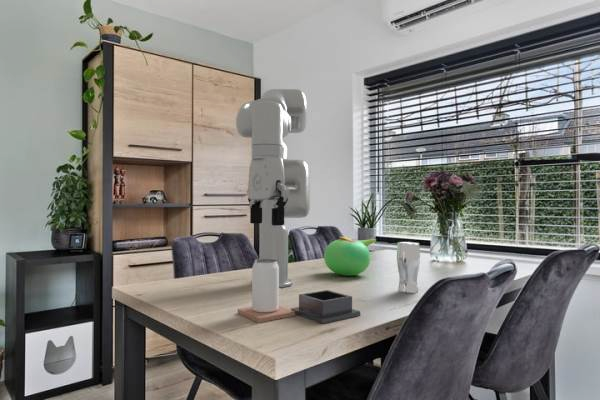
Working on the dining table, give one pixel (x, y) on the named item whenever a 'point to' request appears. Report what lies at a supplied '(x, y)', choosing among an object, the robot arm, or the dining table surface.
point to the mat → (266, 314)
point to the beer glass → (408, 266)
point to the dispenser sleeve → (325, 306)
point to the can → (265, 286)
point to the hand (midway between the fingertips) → (266, 224)
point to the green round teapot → (348, 256)
